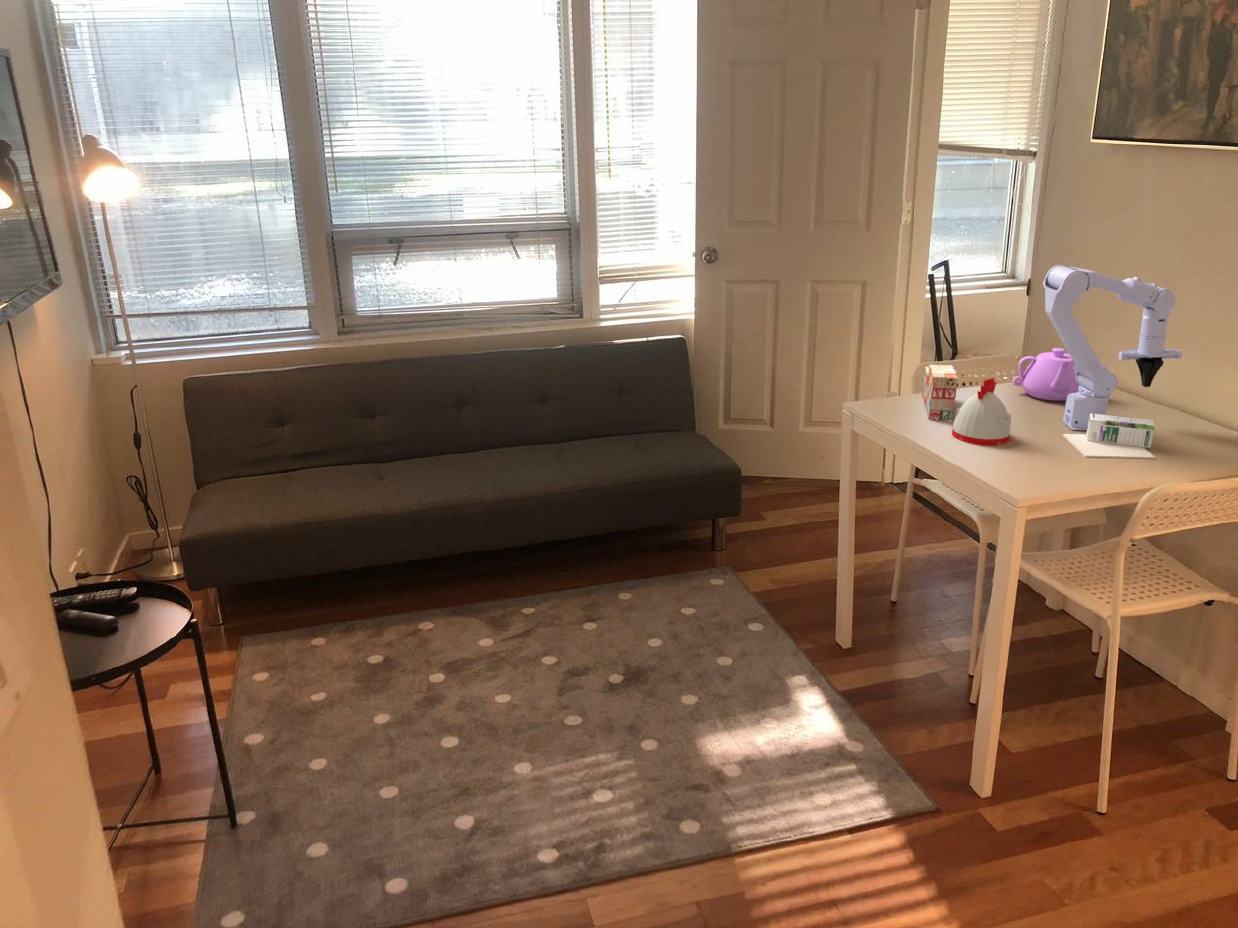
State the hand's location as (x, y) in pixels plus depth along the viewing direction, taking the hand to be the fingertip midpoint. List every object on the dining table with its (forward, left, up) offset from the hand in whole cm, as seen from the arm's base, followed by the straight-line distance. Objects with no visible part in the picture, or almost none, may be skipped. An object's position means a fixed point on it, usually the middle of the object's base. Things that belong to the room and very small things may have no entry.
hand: (1145, 386), depth 252 cm
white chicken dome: (-44, -12, -11) cm, 47 cm away
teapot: (-14, +23, -11) cm, 29 cm away
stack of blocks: (-50, +11, -11) cm, 52 cm away
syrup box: (-4, -18, -7) cm, 19 cm away
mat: (-15, -18, -11) cm, 26 cm away
